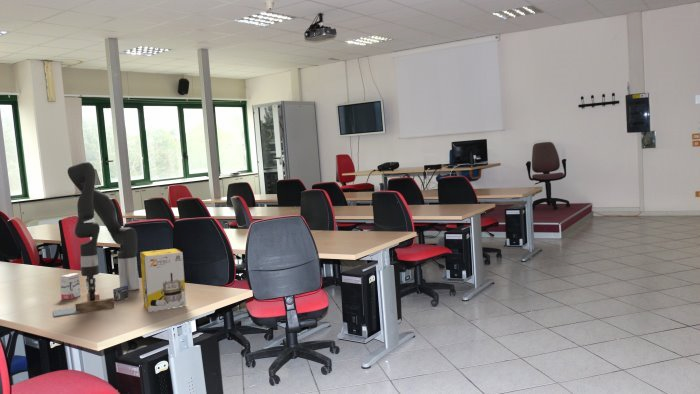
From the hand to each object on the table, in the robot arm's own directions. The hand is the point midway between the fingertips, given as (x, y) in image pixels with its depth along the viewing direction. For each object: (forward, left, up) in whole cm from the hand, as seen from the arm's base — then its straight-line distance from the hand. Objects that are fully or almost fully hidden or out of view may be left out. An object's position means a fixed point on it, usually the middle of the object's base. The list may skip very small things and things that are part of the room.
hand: (91, 299), depth 262 cm
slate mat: (+11, +4, -4) cm, 13 cm away
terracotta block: (-1, 0, -4) cm, 4 cm away
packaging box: (-29, +22, -4) cm, 36 cm away
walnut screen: (-1, +7, -4) cm, 8 cm away
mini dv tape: (-14, -7, -4) cm, 16 cm away
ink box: (+7, -30, -4) cm, 31 cm away
